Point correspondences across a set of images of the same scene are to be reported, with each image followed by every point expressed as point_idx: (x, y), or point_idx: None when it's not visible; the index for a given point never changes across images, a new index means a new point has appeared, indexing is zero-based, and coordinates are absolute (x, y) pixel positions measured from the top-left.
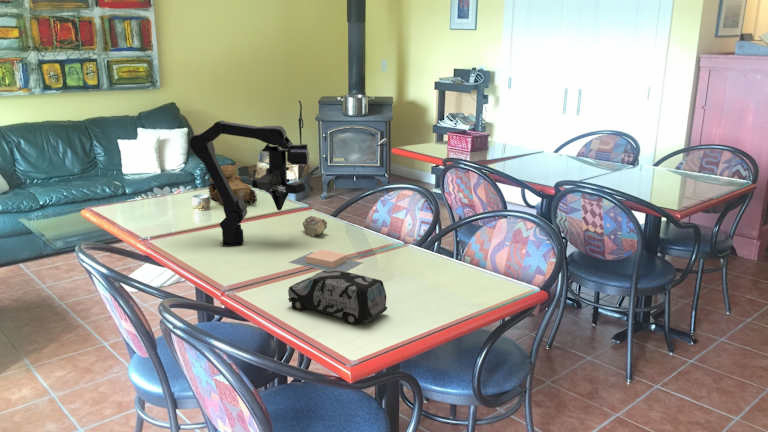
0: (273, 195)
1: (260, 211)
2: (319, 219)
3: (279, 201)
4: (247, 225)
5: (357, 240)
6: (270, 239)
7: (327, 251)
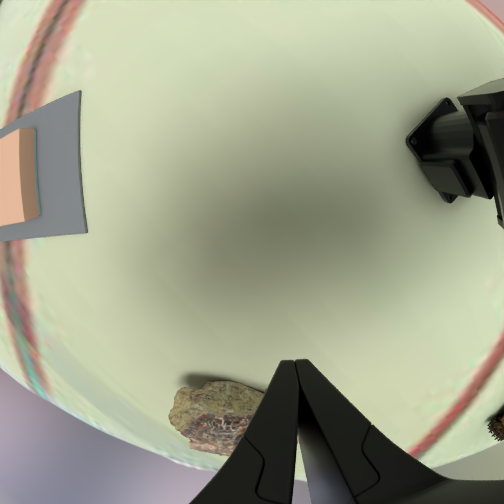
0: (387, 500)
1: (474, 414)
2: (205, 445)
3: (249, 441)
4: (483, 338)
5: (103, 397)
6: (358, 279)
7: (6, 217)
